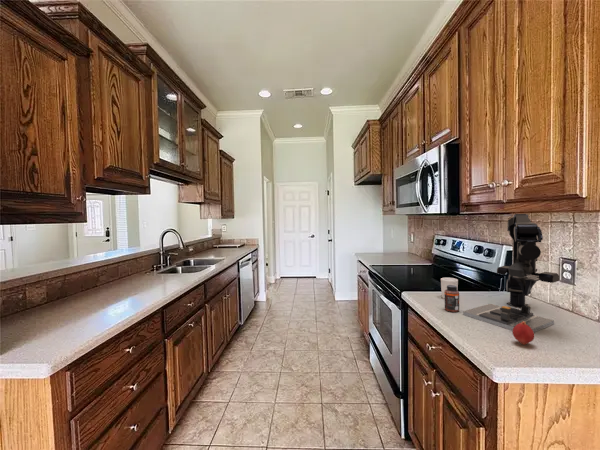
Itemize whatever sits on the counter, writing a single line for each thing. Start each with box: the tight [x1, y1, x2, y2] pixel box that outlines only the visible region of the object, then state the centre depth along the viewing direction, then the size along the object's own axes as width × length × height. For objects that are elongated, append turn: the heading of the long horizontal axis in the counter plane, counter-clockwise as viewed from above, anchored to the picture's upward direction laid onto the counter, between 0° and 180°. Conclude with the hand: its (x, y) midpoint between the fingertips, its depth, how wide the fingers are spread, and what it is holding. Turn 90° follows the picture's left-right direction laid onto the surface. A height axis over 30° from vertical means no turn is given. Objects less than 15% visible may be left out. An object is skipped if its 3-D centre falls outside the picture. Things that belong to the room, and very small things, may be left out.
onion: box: [512, 321, 535, 346], centre depth 96 cm, size 6×6×8 cm
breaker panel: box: [462, 303, 555, 333], centre depth 118 cm, size 20×24×5 cm
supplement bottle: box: [444, 285, 460, 313], centre depth 130 cm, size 6×6×11 cm
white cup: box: [440, 277, 459, 300], centre depth 147 cm, size 8×8×10 cm
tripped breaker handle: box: [501, 305, 512, 314], centre depth 118 cm, size 2×2×3 cm
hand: (525, 295), depth 111 cm, fingers closed
